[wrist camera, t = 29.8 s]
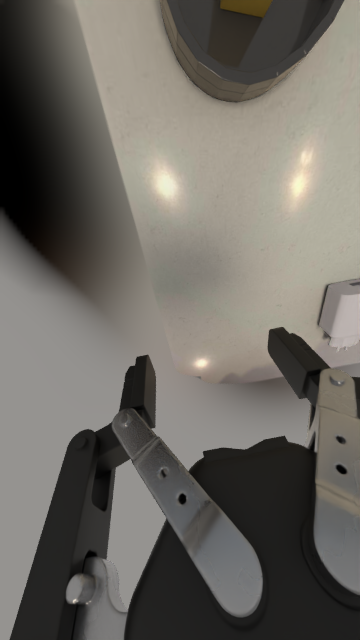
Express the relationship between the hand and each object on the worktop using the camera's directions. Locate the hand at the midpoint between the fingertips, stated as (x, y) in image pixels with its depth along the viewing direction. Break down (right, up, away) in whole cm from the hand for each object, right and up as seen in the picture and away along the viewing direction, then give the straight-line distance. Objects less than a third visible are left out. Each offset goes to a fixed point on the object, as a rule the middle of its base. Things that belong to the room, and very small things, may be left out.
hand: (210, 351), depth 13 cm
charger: (+30, +3, +26) cm, 40 cm away
